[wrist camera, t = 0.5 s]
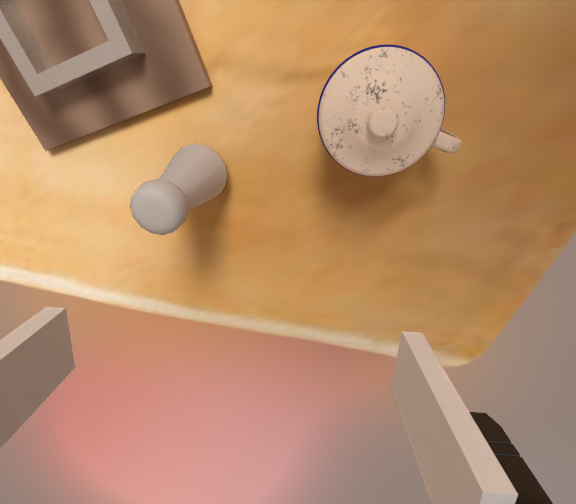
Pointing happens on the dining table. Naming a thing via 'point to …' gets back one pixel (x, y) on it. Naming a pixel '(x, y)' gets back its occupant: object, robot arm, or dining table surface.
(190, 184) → the salt shaker
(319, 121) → the teacup with lid
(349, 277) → the dining table surface
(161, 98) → the walnut board
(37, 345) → the robot arm
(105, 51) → the metal collar
